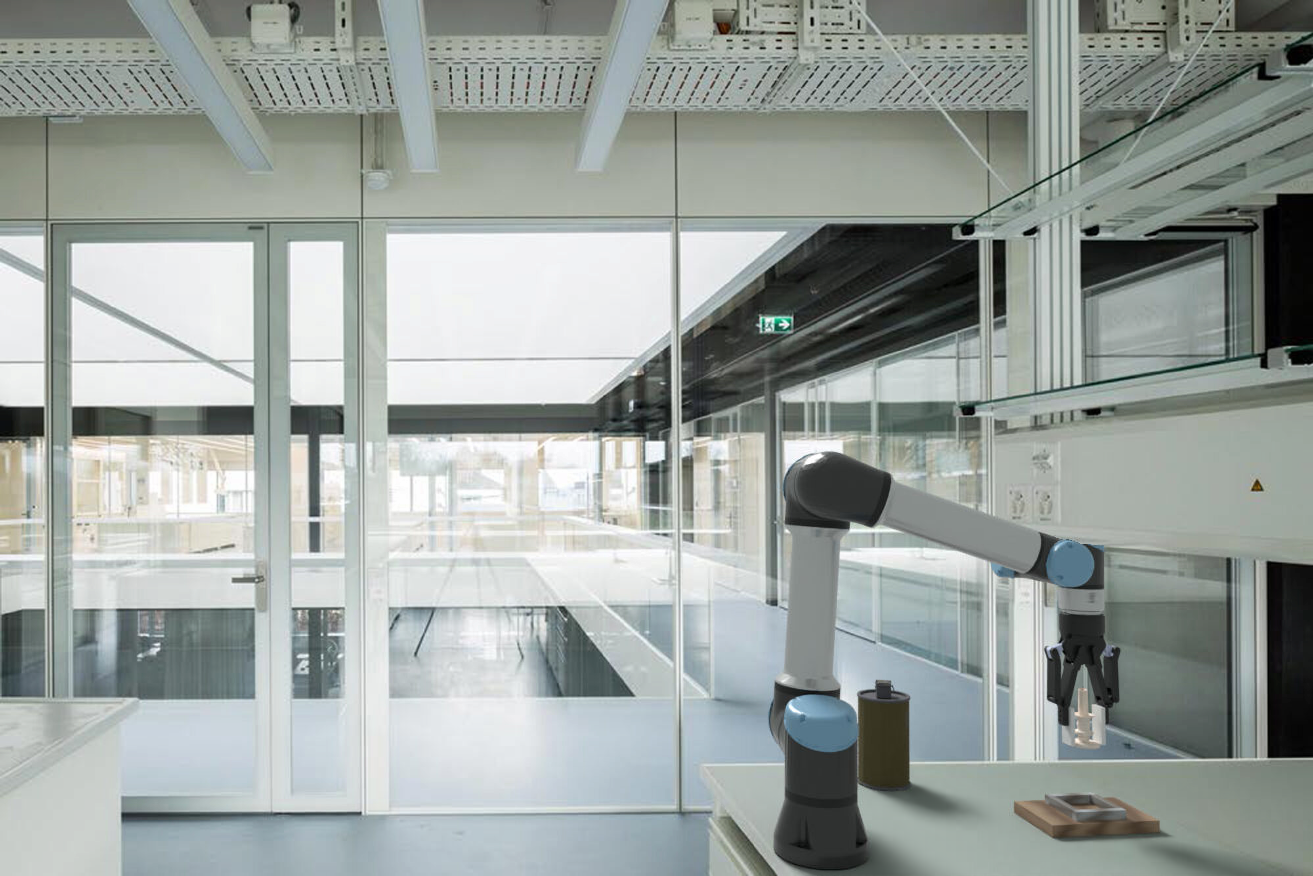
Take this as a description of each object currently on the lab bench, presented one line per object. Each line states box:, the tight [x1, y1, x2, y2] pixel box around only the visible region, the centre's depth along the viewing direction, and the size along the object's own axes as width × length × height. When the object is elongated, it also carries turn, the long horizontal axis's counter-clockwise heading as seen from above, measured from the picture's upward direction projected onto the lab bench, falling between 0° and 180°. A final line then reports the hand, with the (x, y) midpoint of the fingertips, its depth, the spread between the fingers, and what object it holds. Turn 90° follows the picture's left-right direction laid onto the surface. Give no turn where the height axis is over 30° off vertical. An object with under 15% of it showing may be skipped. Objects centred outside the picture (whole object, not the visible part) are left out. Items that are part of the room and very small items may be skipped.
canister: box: [856, 679, 912, 792], centre depth 181 cm, size 11×10×20 cm
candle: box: [1072, 687, 1101, 750], centre depth 161 cm, size 5×5×10 cm
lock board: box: [1013, 791, 1161, 838], centre depth 160 cm, size 20×12×4 cm, turn 98°
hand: (1083, 743), depth 160 cm, fingers closed on candle, 5 cm apart
